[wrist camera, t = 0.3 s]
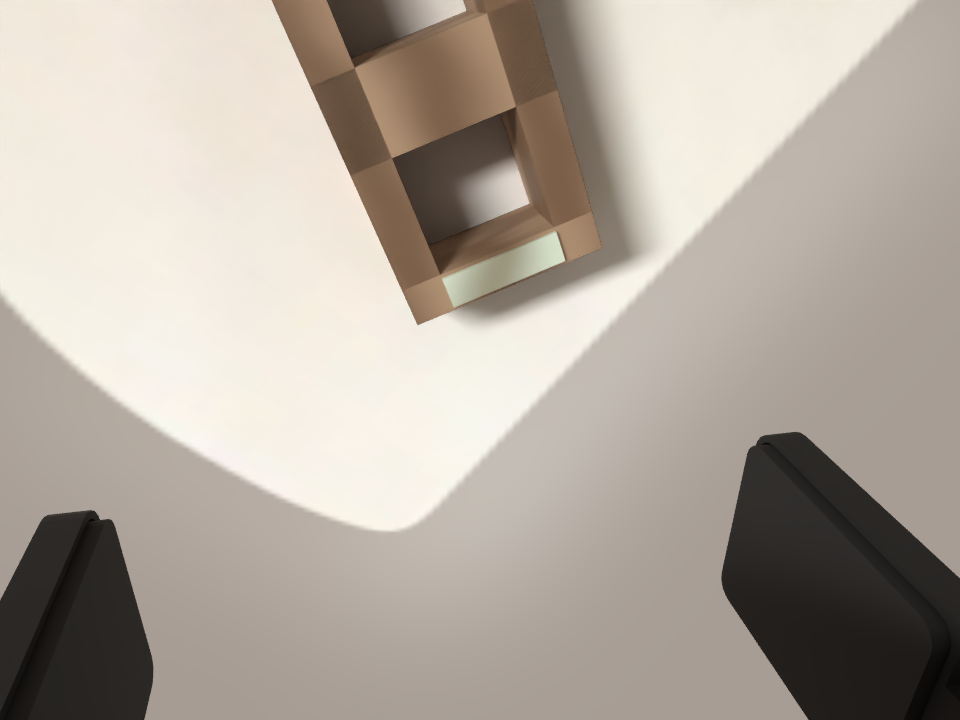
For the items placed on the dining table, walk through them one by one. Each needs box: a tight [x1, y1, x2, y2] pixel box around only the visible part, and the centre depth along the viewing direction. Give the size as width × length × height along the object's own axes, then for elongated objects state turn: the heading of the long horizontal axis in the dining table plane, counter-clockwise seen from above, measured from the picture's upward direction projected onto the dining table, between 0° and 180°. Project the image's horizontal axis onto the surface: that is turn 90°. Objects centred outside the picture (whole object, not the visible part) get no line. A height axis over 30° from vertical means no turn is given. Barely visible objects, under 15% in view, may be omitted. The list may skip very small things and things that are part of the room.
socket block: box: [272, 0, 602, 325], centre depth 33 cm, size 10×20×5 cm, turn 20°
